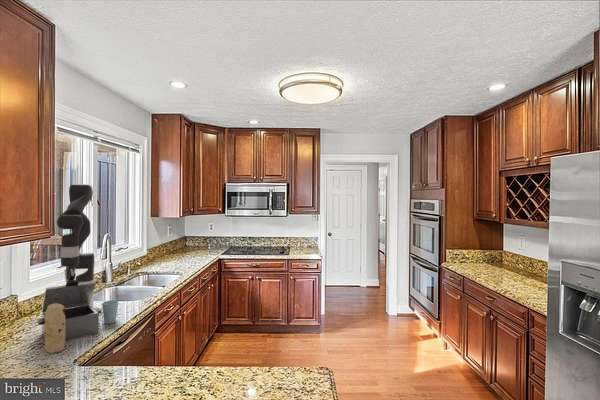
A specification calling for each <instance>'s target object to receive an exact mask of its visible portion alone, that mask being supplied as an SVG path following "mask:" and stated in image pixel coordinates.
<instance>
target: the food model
mask: <svg viewBox="0 0 600 400" xmlns="http://www.w3.org/2000/svg"><path fill="white" fill-rule="evenodd" d="M44 313H45V337H44V347H45V351H46V353H48V354H54V353H59V352H62V351H63V350H64V349H65V344H66V341H65V307H64V306H63V305H61V304H58V303H54V304H51V305H49V306H48V307H47V310H46V312H44Z"/></svg>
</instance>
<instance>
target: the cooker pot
mask: <svg viewBox="0 0 600 400" xmlns="http://www.w3.org/2000/svg"><path fill="white" fill-rule="evenodd" d="M41 314H42V318H38V319H36V322H37V324H38V325H39V326H42V327H41V328H42V331H41V332H42V335H44V336H43V338H45V312H44V313H42V312H41ZM100 314H103V310H101V309H100V308H99V307H97V308H94V307H93V308H92V307H91V306H90V305H85V306H79V307H72V308H67V309H65V342H67V341H72V340H76V339H81V338H84V337H90V336H93V335H97V334H99V323H100V321H99V317H100V316H99V315H100Z"/></svg>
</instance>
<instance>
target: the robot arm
mask: <svg viewBox="0 0 600 400" xmlns="http://www.w3.org/2000/svg"><path fill="white" fill-rule="evenodd" d="M93 193H94V190H93V187H92V185H91V184H86V183H85V184H84V183H72V184H70V185H69V187H68V196H69V204H68V206H67V208H66V210H65V211H64V212H62V213H61V214H60V215H59V216H58V218H57V220H56V225H57V227H58V228H59V229H61V230H71V233H66V234H63V235H62V236H61V249H60V266H62V267H65V269H64V271H63V272H64V279H65V282H66V281H72V280H79V283H86V282H93V281H95V280H94V279H95V278H94V277H95V275H94V274H95V273H94V272H95V269H94V268H95V254H94V253H93V252H80V251H81V248H82V246H83V244H84V243H85V241H86V240H87V239H88V237H89V236H90V234H91V221H90V219H89V218H88V216H87V215H86V214H85V212H84V211H85V208H86V206H87V205H88V204H89V203H90V202H91V200H92V198H93ZM83 269H84V270H85V269H86V270H85V272H82V273H80V274H76V270H83ZM79 283H78V284H79ZM94 295H95V293H94V291H93V295H92V298H91V302H90V304H89V305H90V306H91V307H92V308H94V306H95V305H94ZM84 306H85V305H84ZM78 307H79V306H78Z"/></svg>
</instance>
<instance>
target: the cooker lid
mask: <svg viewBox="0 0 600 400" xmlns="http://www.w3.org/2000/svg"><path fill="white" fill-rule="evenodd" d="M65 282H66V283H65V284H64V285H58V286H50V287H46V288H45V290H44V295H43V296H44V297H43V301H42V302H43V303H42V307H41V314H42V313H45V312H46V310H47V307H48V306H49V305H51V304H54V303H58V304H61V305H63V306H64V307H65V309H68V308H73V307H78V306H84V305H89V304H90V302H91V298H92V295H93V291H94V290H95V287H96V284H97V283H96V282H97V281H96V280H94V281H93V282H86V283H79V280H76V279H75V280H72V281H66V280H65ZM78 283H79V284H78Z"/></svg>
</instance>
